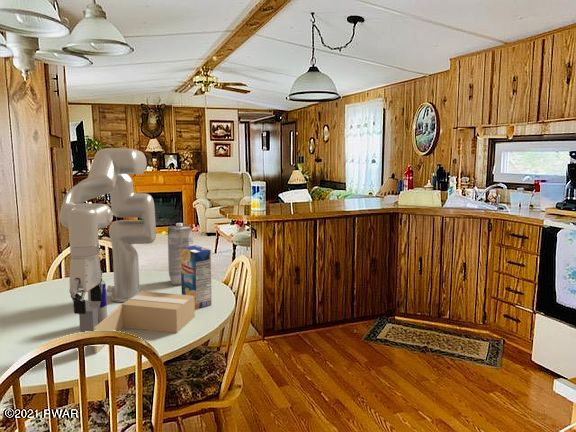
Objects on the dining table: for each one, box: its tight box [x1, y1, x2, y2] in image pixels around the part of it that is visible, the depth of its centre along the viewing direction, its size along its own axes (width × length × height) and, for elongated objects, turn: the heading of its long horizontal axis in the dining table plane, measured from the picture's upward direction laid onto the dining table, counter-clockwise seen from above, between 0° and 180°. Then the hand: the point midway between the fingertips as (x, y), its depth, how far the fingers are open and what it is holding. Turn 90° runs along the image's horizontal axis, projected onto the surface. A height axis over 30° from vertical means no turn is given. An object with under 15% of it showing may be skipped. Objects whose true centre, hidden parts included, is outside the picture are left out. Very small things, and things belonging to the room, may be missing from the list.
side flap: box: [78, 305, 124, 354], centre depth 136 cm, size 19×5×13 cm, turn 178°
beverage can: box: [87, 280, 108, 324], centre depth 148 cm, size 6×6×15 cm
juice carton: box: [167, 222, 194, 286], centre depth 195 cm, size 9×10×27 cm
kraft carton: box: [121, 291, 196, 334], centre depth 151 cm, size 20×14×8 cm
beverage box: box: [180, 244, 213, 310], centre depth 169 cm, size 7×11×22 cm, turn 42°
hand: (88, 306), depth 128 cm, fingers open, 9 cm apart
